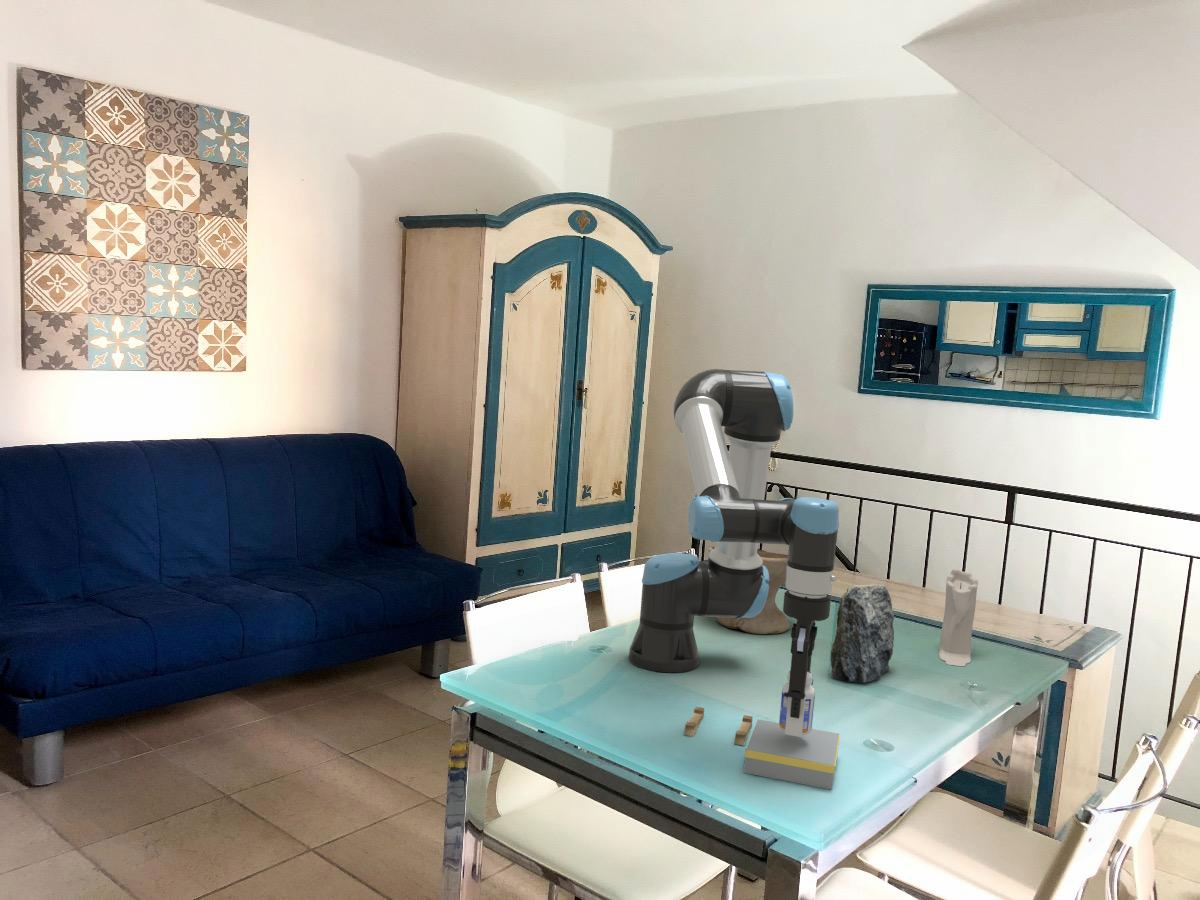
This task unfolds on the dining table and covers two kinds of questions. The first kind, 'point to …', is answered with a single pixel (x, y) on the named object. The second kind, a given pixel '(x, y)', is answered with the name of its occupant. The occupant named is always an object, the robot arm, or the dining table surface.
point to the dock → (792, 755)
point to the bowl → (770, 615)
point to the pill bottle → (807, 710)
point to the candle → (958, 618)
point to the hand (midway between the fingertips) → (795, 727)
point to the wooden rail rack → (698, 716)
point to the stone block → (863, 634)
